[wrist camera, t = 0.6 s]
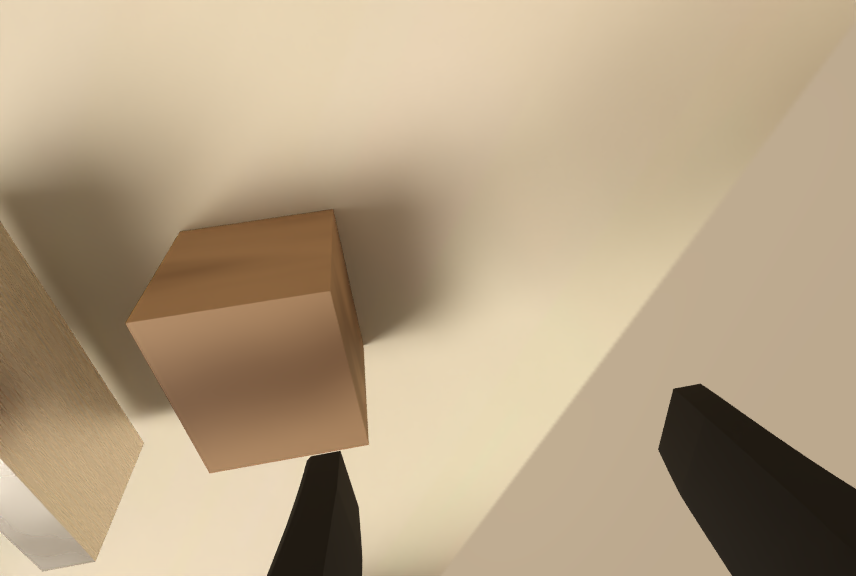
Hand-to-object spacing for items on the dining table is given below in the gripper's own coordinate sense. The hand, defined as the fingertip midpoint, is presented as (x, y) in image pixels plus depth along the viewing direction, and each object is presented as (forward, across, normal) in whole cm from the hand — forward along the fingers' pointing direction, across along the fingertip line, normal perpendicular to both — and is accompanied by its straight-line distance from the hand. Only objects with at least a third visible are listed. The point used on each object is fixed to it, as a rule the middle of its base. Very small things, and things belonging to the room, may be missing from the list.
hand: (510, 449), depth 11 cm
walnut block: (+9, +6, +1) cm, 11 cm away
